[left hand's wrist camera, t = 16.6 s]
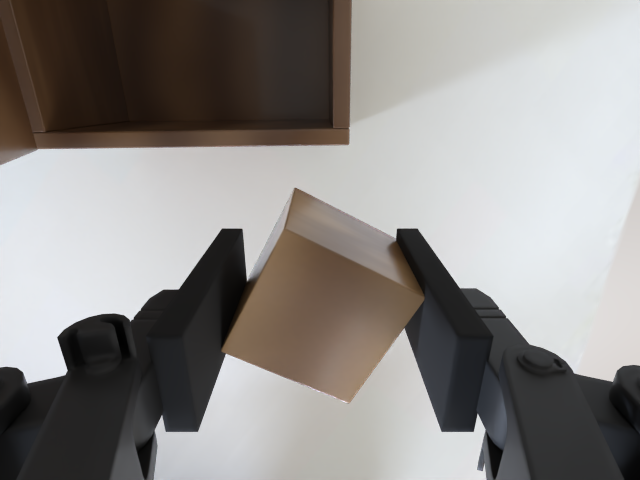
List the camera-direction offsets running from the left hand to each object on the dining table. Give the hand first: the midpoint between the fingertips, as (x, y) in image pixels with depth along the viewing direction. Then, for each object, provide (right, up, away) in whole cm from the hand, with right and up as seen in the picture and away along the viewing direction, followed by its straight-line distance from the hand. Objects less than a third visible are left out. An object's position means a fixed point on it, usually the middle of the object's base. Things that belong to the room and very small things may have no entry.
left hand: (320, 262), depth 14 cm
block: (0, 0, 0) cm, 0 cm away
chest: (-7, +15, +13) cm, 20 cm away
